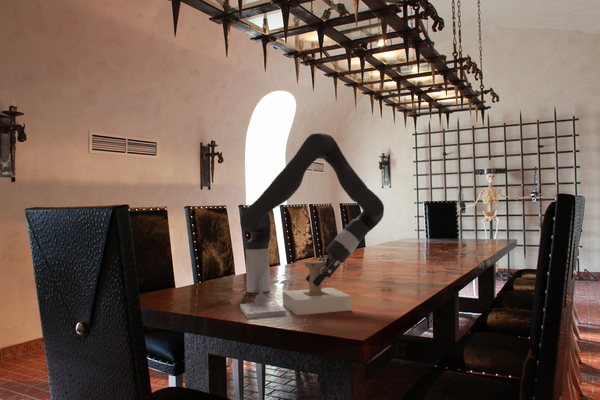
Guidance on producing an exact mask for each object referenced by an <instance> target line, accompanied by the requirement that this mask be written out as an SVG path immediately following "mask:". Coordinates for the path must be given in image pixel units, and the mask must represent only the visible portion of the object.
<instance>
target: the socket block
mask: <svg viewBox="0 0 600 400" xmlns="http://www.w3.org/2000/svg"><path fill="white" fill-rule="evenodd" d="M282 305H283V306H284V307H285V308H287V309H288V310H289V311H291V312H292V313H293V314H294V315H295V316H301V315H302V316H304V315H312V314H313V315H315V314H326V313H334V312H336V313H337V312H347V311H348V312H349V311H352V296H351V295H350V294H347V293H345V292H342V291H341V290H338V289H336V288H334V287H325V288H322V287H321V296H310V295H309V289H299V290H285V291H284V290H283V291H282Z"/></svg>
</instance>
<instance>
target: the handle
mask: <svg viewBox="0 0 600 400" xmlns="http://www.w3.org/2000/svg"><path fill="white" fill-rule="evenodd" d="M323 264H324V261H318V260H307V261H305V262H304V266H305V267H306V268H308V270H309V274H310V282H308V283H309V284H308V287H309V295H310V296H321V288H322V283H321V284H320V285H319V286H315V285H314V284H313V281H314V280H315V278H316V277H317V276H318V275H319V274H320V273H321V272H320V268H321V267H322V266H323Z"/></svg>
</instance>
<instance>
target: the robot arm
mask: <svg viewBox="0 0 600 400" xmlns="http://www.w3.org/2000/svg"><path fill="white" fill-rule="evenodd" d="M318 159H321V160H324V161H325V162H326V163H327V164H328V165H330V167H331V168H332V170H333V171H334V173H335V175H336V178H337V180H338V182H339V185H340V186H341V188H342V189H343V190H344V192H345V193H346V194H347V195H348V197H349V198H350V199H351V200H352V201H353V202H355V203H357V204H358V206H359V207H360V208H361V210H362V212H361V213H360V214H359V215H358V216H356V218H353V219H352V220H350V222H349V223H348V224H347V225H346V226H345V227H344V228H343V229H342V230H341V231H340V232H339V233H338V234H337V235H336V237H335V238H334V239H333V240H332V241H331V242H330V243H329V244H328V246H327V247H326V248H325V251H326V253H327V255H326V256H325V255H324V254H323V255H321V256H320V258H319V259H318V260H317V261H324V264H323V266H322V267H321V268H320V274H319V275H318V276H317V277H316V278H315V280H314V281H313V284H314V285H315V286H319V285H320V284H321V285H322V282H323V281H324V280H325V279H327V278H330V277H331V276H332V275H333V274H334V272H336V271H337V270H338V268H339V267H340V266H341V265H342V264H344V263H345V262H346V261H347V259H348V258H349V257H350V256H351V255H352V253H353V252H354V251H355V250H356V249H357V247H358V245H359V244H360V243H361V241H363V239H365V237H366V236H367V235H368V233H369V232H370V231H371V230H373V229H374V228H375V227H376V226H377V225H378V224H380V222H381V220H382V219H383V218H384V213H385V205H384V203H383V201H382V200H381V199H380V197H379V196H378V195H377V194H375V193H374V192H373V191H372V190H371V189H369V188H368V186H367V185H366V183H365V182H364V181H363V180H362V178H361V177H360V176H359V175H358V174H357V172H356V171H355V170H354V169H353V167H352V166H351V165H350V163H349V161H348V160H347V158H346V157H345V156H344V153H343V151H342V150H341V149H340V147H339V144H338V143H337V142H336V140H335V139H334V137H333V136H332V135H330V134H327V133H322V132H314V133H311V134H310V135H308V137H306V138H305V140H304V141H303V143H302V144H301V146H300V147H299V149H298V150H297V152H296V153H295V155H294V156H293V157H292V158H291V159H290V161H288V163H287V164H286V166H285V167H284V168H283V169H282V170H281V171H280V172H279V173H278V175H277V176H276V177H275V178H274V179H273V180H272V182H271V183H270V184H269V185H268V187H267V188H266V189H264V191H263V192H262V194H260V196H259V197H258V198H257V199H256V200H255V201H254V202H253V203H252V204H251V205H250V206H248V207H247V208H246V210H244V212H243V213H242V215H241V217H240V226H241V228H242V230H243V231H245V232H249V233H252V235H251V237H250V238H249V239H248V240H246V242H245V264H246V265H245V266H246V267H245V268H246V291H247V293H251V294H253V293H254V294H255V293H256V294H259V283H258V282H259V277H257V276H256V274H255V272H254V270H253V268H252V265H251V253H250V251H256V250H269V251H270V249H269V248H270V247H269V245H270V241H271V227H272V225H271V224H272V223H271V217H270V214H269V213H270V212H271V211H272V210H274V209H276V208H278V207H279V206H281V205H282V204H283V203H285V202H287V201H289V199H290V198H291V197H292V196H293V195H294V194H295V193H296V192H297V191H298V189H299V188H300V187H301V185H302V183H303V179H304V176H305V173H306V171H307V170H308V168H309V167H310V166H311V165H313V163H314V162H315V161H316V160H318ZM268 258H269V259H270V254H268ZM270 279H271V278H270V264H269V265H268V268H267V271H266V273H265V275H264V276H263V277H262V282H263V283H262V287H263V289H262V293H266V292H270V289H271V288H270V287H271V285H270V281H271V280H270ZM305 280H306V282H308V283H309V282H310V273H309V274H308V275H307V276H306V277H305Z"/></svg>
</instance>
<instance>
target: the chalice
mask: <svg viewBox="0 0 600 400" xmlns="http://www.w3.org/2000/svg"><path fill="white" fill-rule="evenodd" d="M250 253H251V265H252V268H253V270H254V272H255V274H256V276H257V277H259V282H258V283H259V293H257V294H256V296H255V298H254V300H253V303H262V302H269V300H268V297H267V296H266V294H264V292H262V289H263V287H262V283H263V282H262V277H263V276H264V275H265V273H266V271H267V268H268V265H269V266H270V257H269V258H268V254H269V253H270V249H269V250H256V251H250ZM269 255H270V254H269Z"/></svg>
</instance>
